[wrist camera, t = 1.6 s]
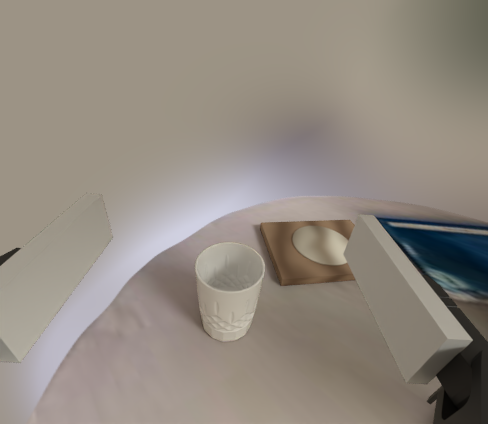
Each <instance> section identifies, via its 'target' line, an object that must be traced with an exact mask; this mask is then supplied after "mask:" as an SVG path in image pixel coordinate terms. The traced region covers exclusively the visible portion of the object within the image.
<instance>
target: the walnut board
mask: <svg viewBox="0 0 488 424" xmlns="http://www.w3.org/2000/svg"><path fill="white" fill-rule="evenodd" d="M354 226H355V225H354V224H353V223H352V222H351V221H350V220H330V221H300V222H270V223H261V226H260V230H261V233H262V235H263V238H264V241H265V244H266V246H267V249H268V252H269V254H270V257H271V260H272V263H273V265H274V268H275V271H276V274H277V276H278V279H279V282H280V285H281V286H288V285H300V284H312V283H324V282H336V281H348V280H356V279H355V277H354V275H353V273H352V271H351V269H350V267H349V265H348V263H347V261H346V259H345V257H344V255H343V253H344V251H345V248H346V246H347V243H348V241H349V238H350V236H351V233H352V231H353V228H354Z"/></svg>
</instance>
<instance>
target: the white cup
mask: <svg viewBox="0 0 488 424" xmlns="http://www.w3.org/2000/svg"><path fill="white" fill-rule="evenodd" d="M264 273H265V264H264V261H263V259H262V257H261V256H260V254H259V253H258V252H257V251H255V250H254V249H252V248H251V247H249V246H247V245H244V244H241V243H235V242H223V243H217V244H214V245H212V246H209V247H208V248H206V249H205V250H203V251H202V252H201V253H200V254H199V256H198V257H197V259H196V262H195V274H196V284H197V294H198V301H199V308H200V313H201V319H202V323H203V327H204V330H205V331H206V332H207V333H208V334H209V335H210V336H211V337H212V338H214V339H217V340H219V341H222V342H227V341H236V340H237V339H239V338H241V337H242V336H244V335H245V334H246V333H247V331H248V329H249V328H250V326H251V324H252V319H253V315H254V313H255V310H256V306H257V302H258V299H259V295H260V290H261V286H262V282H263V277H264Z"/></svg>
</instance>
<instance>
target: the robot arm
mask: <svg viewBox="0 0 488 424" xmlns="http://www.w3.org/2000/svg"><path fill="white" fill-rule="evenodd" d="M112 238H113V236H112V232H111V228H110V224H109V220H108V216H107V212H106V209H105V205H104V201H103V197H102V194H91V193H86V194H85V195H84V196H82V197H81V198H80V199H79V200H78V201H76V202H75V203H74V204H73V205H72V206H71V207H69V208H68V209H67V210H66V211H65V212H64V213H62V214H61V215H60V216H59V217H58V218H56V219H55V220H54V221H53V222H52V223H50V224H49V225H48V226H47V227H46V228H45V229H43V230H42V231H41V232H40V233H39V234H38V235H37V236H35V237H34V238H33V239H32V240H31V241H29V242H28V243H27V244H26V245H25V246H23V247H22V248H16V249H14V250H12V251H10V252H8V253H6V254H4V255H2V256H0V362H13V363H21V361H22V360H23V359H24V357H25V356H26V355H27V353H28V352H29V350H30V349H31V348H32V346H33V345H34V344H35V342H36V341H37V340H38V338H39V337H40V336H41V334H42V333H43V332H44V330H45V329H46V327H47V326H48V325H49V323H50V322H51V321H52V319H53V318H54V317H55V315H56V314H57V313H58V311H59V310H60V309H61V307H62V306H63V304H64V303H65V302H66V301H67V299H68V298H69V296H70V295H71V293H72V292H73V291H74V289H75V288H76V287H77V285H78V284H79V283H80V282H81V280H82V279H83V278H84V276H85V275H86V273H87V272H88V271H89V269H90V268H91V267H92V265H93V264H94V263H95V261H96V260H97V258H98V257H99V256H100V255H101V253H102V252H103V251H104V249H105V248H106V246H107V245H108V244H109V242H110V241H111V240H112ZM343 255H344V257H345V259H346V261H347V263H348V265H349V267H350V269H351V271H352V273H353V275H354V277H355V279H356V281H357V283H358V285H359V288H360V290H361V292H362V294H363V296H364V298H365V300H366V302H367V304H368V306H369V308H370V310H371V312H372V314H373V316H374V318H375V320H376V322H377V325H378V327H379V329H380V331H381V333H382V335H383V337H384V339H385V341H386V343H387V345H388V347H389V349H390V351H391V353H392V355H393V357H394V359H395V362H396V364H397V366H398V368H399V370H400V372H401V374H402V376H403V378H404V380H405V382H406V383H412V384H428V383H429V382H430V381H431V380H432V379H433V378H434V377H435V376H437V378H438V379H439V381H440V383H441V384H442V386H441V387H440V388H439V389H438V390H437V391H436V392H434V393H433V394H432V395H431V396H430V397H429V399H428V401H427V402H428V403H429V404H431V403H433V402H434V401H435V400H436V399H437V401H436V408H435V415H434V422H433V424H488V342H487V341H486V340H485V338H484V337H483V336H482V335H481V334H480V332H479V331H478V330H477V329H476V328H475V326H474V325H473V324H472V323H471V322H470V321H469V319H468V318H467V317H466V316H465V315H464V313H463V312H462V311H461V310H460V309H459V308H457V305H456V304H455V303H454V302H453V300H452V299H449V296H448V294H447V293H446V292H445V291H444V290H443V289H442V287H441V286H440V285H439V284H437V283H436V282H435V281H434V280H432V279H431V278H430V277H428V276H427V275H421V274H420V273H419V272H418V271H417V269H416V268H415V267H414V266H413V264H412V263H411V262H410V260H409V259H408V258H407V257H406V255H405V254H404V253H403V252H402V250H401V249H400V248H399V247H398V245H397V244H396V243H395V242H394V240H393V239H392V238H391V237H390V235H389V234H388V233H387V232H386V230H385V229H384V228H383V227H382V225H381V224H380V223H379V222H378V220H377V219H376V218H375V217H374V215H362V214H359V216H358V218H357V221H356V223H355V226H354V228H353V231H352V233H351V236H350V238H349V241H348V243H347V246H346V248H345V251H344V253H343Z"/></svg>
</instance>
